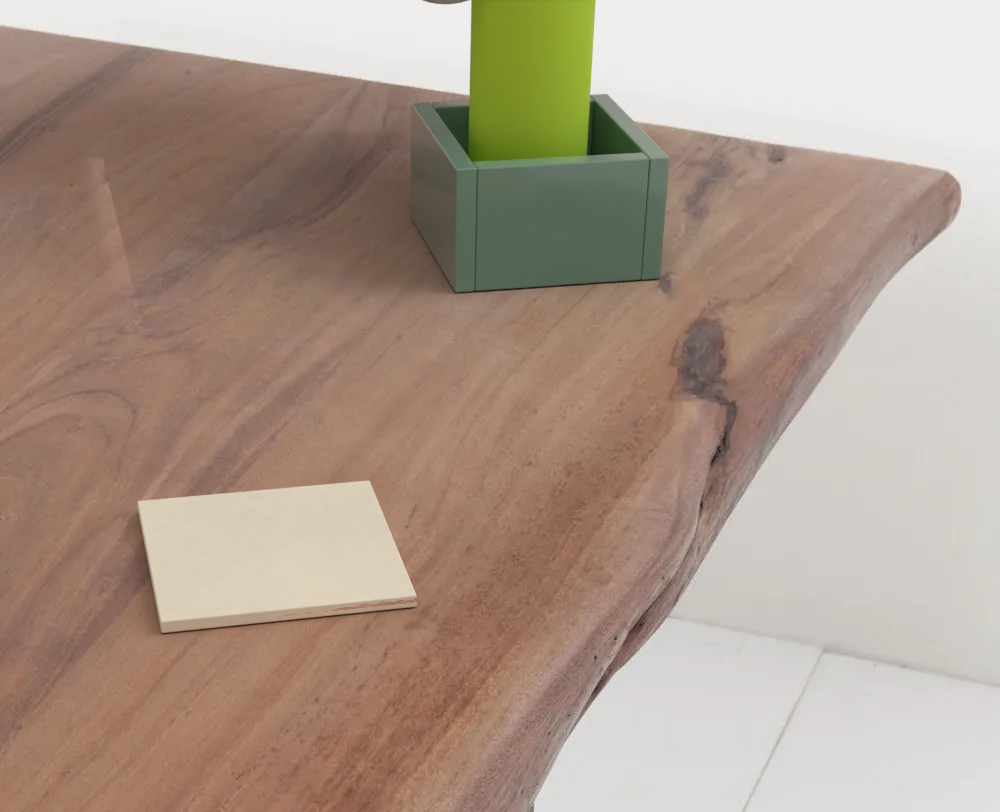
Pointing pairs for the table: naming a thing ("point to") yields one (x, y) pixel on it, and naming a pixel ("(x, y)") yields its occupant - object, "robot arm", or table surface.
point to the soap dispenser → (530, 78)
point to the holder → (539, 204)
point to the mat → (270, 556)
